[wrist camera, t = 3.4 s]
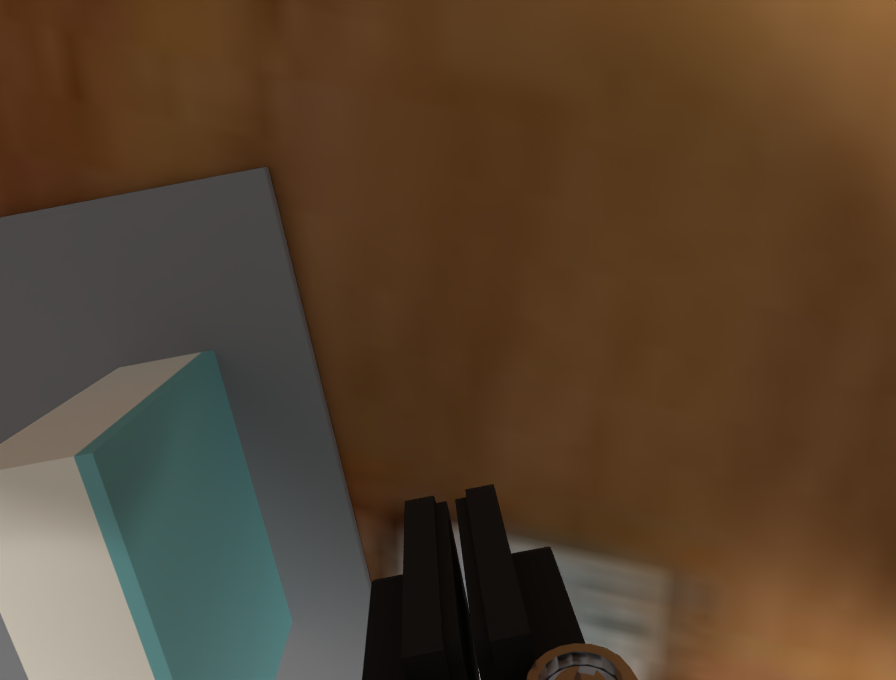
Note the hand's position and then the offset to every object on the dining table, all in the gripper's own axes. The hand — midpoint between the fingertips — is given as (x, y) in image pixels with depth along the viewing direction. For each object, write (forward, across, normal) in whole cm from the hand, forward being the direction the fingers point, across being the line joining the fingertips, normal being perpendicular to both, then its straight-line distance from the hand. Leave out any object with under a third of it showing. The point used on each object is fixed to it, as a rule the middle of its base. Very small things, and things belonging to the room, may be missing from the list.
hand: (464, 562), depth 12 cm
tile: (+5, +6, 0) cm, 8 cm away
